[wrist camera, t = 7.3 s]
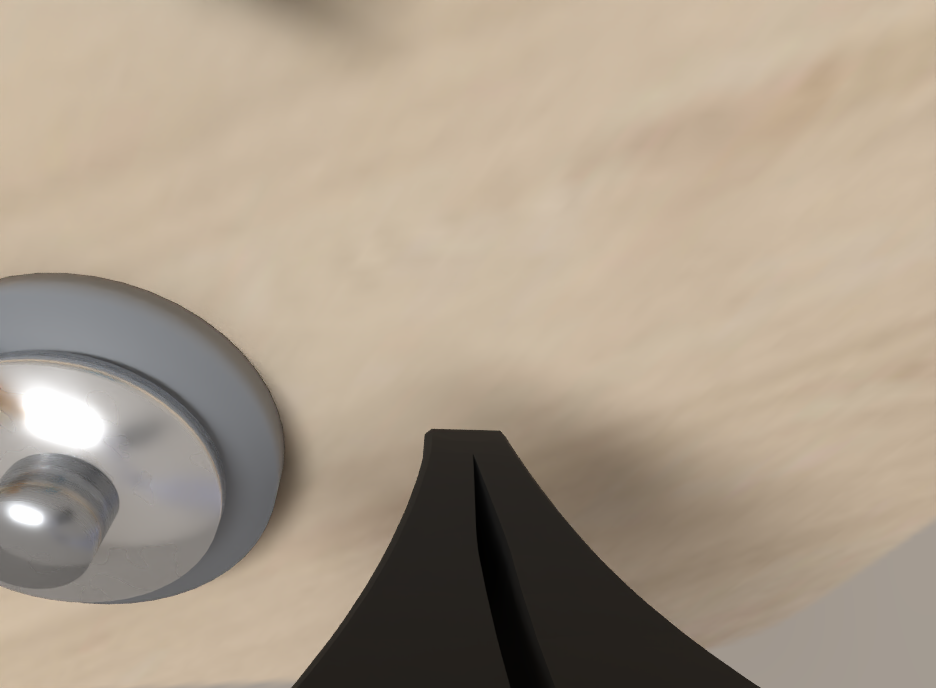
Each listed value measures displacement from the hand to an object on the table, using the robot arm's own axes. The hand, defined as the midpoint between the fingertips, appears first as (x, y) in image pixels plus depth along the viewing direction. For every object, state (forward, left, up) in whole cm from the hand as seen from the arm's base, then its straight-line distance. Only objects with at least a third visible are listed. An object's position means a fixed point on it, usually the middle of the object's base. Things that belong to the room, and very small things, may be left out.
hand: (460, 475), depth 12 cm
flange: (+4, +12, -8) cm, 15 cm away
